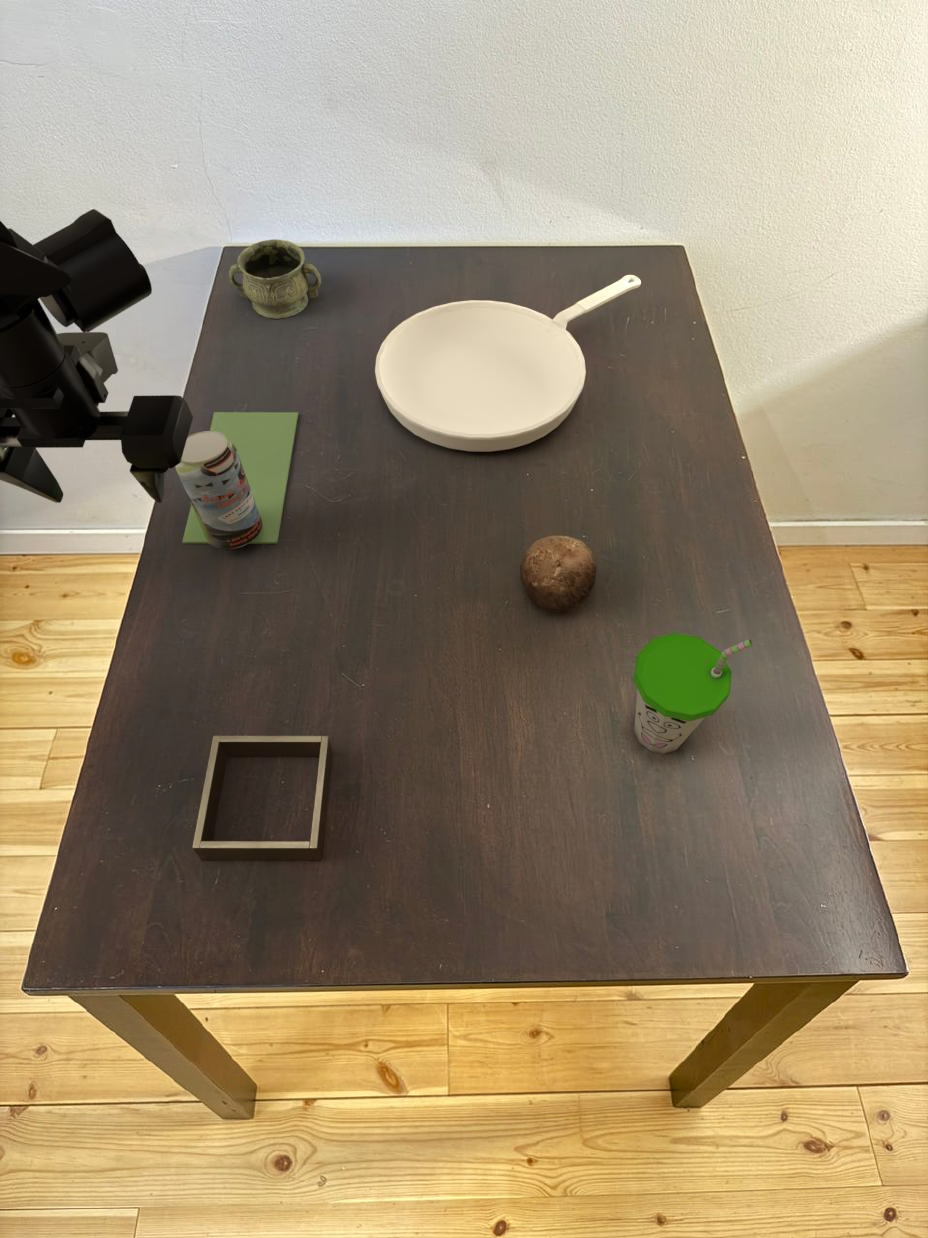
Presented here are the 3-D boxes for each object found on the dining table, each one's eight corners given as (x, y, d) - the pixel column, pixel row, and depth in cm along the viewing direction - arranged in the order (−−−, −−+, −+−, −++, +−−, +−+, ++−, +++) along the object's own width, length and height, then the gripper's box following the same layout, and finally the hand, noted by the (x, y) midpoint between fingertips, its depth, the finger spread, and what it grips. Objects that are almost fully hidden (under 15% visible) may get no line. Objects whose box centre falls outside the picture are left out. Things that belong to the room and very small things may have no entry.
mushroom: (602, 533, 86) (581, 518, 81) (614, 609, 84) (593, 600, 79) (531, 551, 90) (506, 538, 84) (540, 624, 88) (515, 616, 82)
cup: (601, 744, 76) (628, 656, 64) (637, 680, 80) (669, 584, 68) (682, 786, 74) (726, 703, 62) (715, 718, 78) (763, 626, 65)
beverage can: (230, 567, 87) (200, 486, 77) (188, 529, 90) (154, 446, 80) (278, 533, 90) (255, 450, 80) (235, 498, 93) (208, 413, 83)
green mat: (182, 543, 90) (182, 541, 89) (214, 413, 101) (214, 411, 101) (277, 543, 90) (276, 541, 89) (298, 414, 101) (298, 412, 101)
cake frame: (201, 860, 70) (191, 848, 68) (221, 750, 76) (213, 735, 73) (321, 860, 70) (316, 848, 68) (332, 750, 76) (328, 735, 73)
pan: (337, 377, 105) (332, 347, 101) (568, 263, 118) (571, 233, 115) (463, 494, 94) (464, 465, 90) (702, 353, 107) (710, 324, 104)
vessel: (327, 282, 116) (321, 238, 111) (320, 322, 111) (314, 279, 106) (240, 281, 116) (230, 238, 111) (229, 321, 111) (218, 278, 106)
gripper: (174, 288, 66) (229, 431, 79) (-57, 291, 67) (36, 433, 80) (140, 389, 60) (206, 526, 73) (-113, 391, 61) (-3, 526, 74)
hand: (110, 498), depth 75 cm, fingers open, 9 cm apart
